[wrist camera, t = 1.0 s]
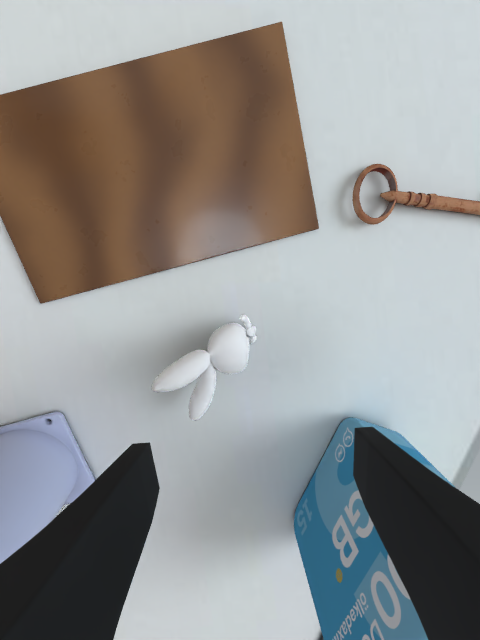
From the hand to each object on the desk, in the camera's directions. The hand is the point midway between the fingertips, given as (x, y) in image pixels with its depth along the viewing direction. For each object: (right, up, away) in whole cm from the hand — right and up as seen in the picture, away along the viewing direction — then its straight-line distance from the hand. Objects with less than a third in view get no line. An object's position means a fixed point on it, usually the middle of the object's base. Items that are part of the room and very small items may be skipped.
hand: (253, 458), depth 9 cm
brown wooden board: (-6, +14, +8) cm, 18 cm away
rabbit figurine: (-3, +2, +11) cm, 12 cm away
